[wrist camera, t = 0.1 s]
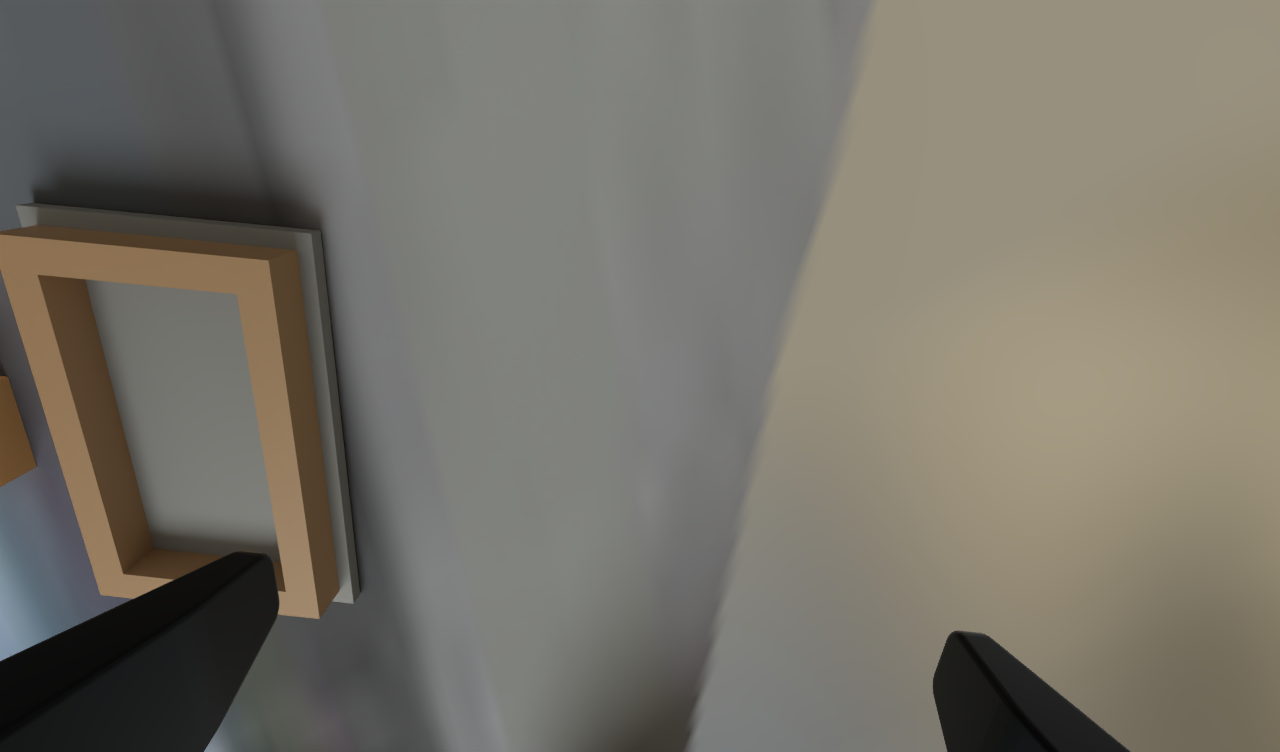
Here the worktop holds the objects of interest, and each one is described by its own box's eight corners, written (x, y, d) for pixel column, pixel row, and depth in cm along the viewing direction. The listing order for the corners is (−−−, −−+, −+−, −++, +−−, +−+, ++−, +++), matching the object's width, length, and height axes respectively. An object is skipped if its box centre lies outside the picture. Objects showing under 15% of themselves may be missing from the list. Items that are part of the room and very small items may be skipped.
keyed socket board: (359, 593, 28) (334, 631, 26) (133, 569, 28) (91, 605, 26) (320, 230, 22) (283, 242, 20) (32, 202, 22) (-34, 212, 20)
